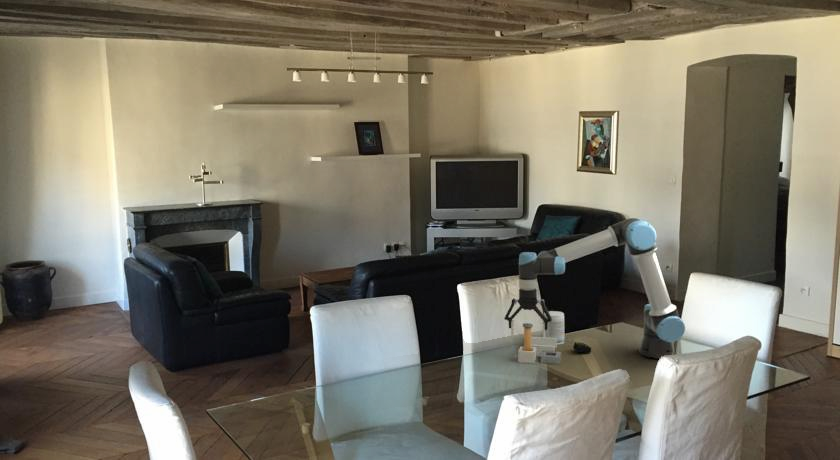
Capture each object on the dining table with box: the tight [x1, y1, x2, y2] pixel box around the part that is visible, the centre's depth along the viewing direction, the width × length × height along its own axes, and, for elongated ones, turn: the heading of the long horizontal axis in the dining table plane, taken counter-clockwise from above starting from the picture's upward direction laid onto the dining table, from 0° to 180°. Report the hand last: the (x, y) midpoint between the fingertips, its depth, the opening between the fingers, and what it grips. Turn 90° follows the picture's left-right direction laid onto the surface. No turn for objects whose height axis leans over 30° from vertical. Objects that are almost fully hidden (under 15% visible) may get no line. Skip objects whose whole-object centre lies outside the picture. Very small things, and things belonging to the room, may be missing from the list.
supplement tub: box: [543, 310, 565, 345], centre depth 338 cm, size 10×10×15 cm
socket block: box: [517, 346, 537, 364], centre depth 314 cm, size 7×7×5 cm
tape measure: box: [573, 341, 592, 354], centre depth 324 cm, size 7×7×4 cm
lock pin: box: [522, 322, 534, 351], centre depth 313 cm, size 4×4×16 cm
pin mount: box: [540, 351, 562, 365], centre depth 313 cm, size 8×8×3 cm
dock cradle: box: [531, 335, 558, 357], centre depth 326 cm, size 13×14×5 cm
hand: (528, 336), depth 313 cm, fingers open, 13 cm apart
